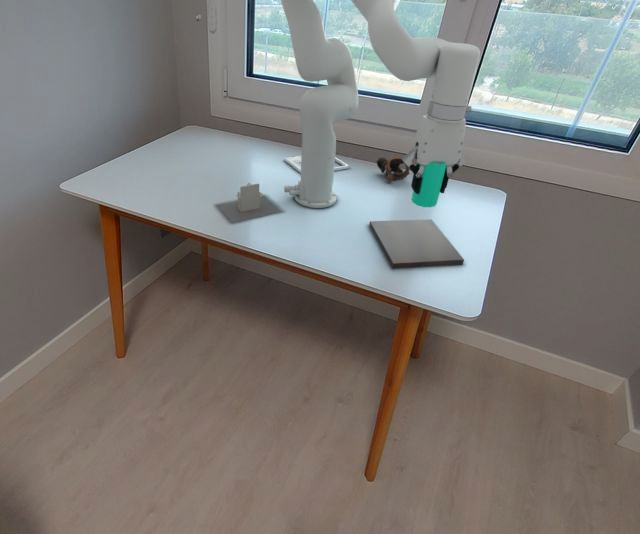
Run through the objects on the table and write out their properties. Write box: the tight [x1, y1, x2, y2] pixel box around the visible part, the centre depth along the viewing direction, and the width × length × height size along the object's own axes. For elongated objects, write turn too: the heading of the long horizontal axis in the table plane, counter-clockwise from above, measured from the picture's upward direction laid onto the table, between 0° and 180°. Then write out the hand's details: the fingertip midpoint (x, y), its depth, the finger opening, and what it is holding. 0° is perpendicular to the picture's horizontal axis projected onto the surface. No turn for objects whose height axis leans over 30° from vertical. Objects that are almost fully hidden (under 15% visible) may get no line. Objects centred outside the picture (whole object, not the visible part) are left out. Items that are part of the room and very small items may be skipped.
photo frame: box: [284, 155, 350, 174], centre depth 144 cm, size 15×1×18 cm
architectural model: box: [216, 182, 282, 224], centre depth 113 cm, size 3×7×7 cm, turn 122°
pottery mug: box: [376, 156, 410, 184], centre depth 138 cm, size 12×10×8 cm
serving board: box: [368, 218, 465, 270], centre depth 104 cm, size 18×20×2 cm
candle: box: [411, 163, 446, 208], centre depth 93 cm, size 6×6×12 cm
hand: (427, 190), depth 95 cm, fingers closed on candle, 5 cm apart
